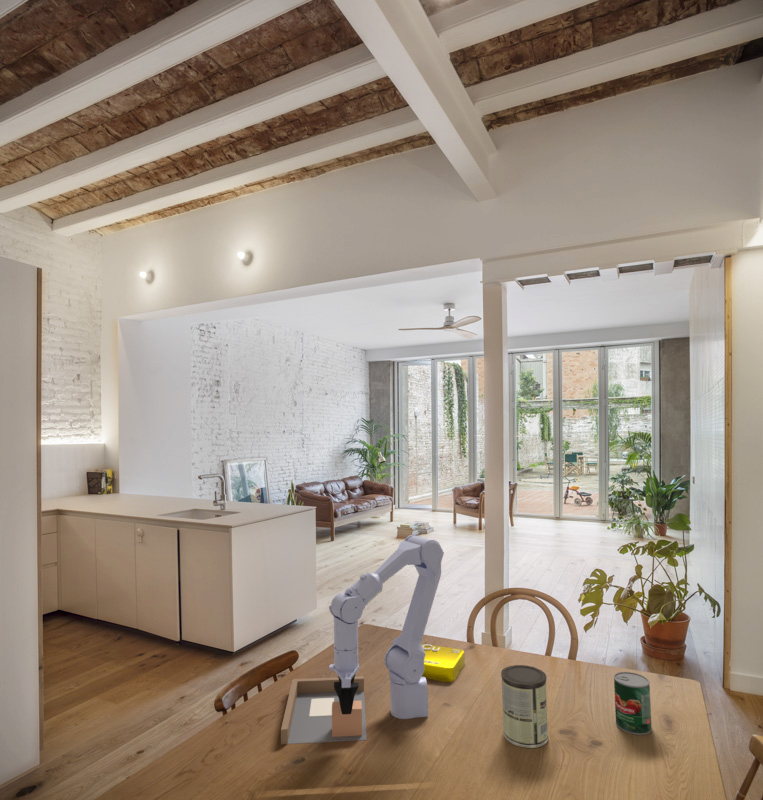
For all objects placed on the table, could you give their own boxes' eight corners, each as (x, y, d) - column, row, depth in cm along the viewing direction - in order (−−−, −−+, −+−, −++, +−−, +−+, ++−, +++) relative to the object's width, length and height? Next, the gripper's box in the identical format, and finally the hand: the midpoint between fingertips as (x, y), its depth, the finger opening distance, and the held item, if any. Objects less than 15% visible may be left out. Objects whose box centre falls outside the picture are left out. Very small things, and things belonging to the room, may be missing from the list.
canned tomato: (652, 722, 133) (650, 675, 134) (651, 738, 126) (649, 689, 127) (617, 714, 137) (615, 669, 138) (613, 730, 130) (612, 682, 131)
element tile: (403, 676, 161) (403, 659, 161) (420, 656, 175) (419, 641, 175) (453, 684, 155) (452, 667, 155) (466, 663, 169) (466, 647, 169)
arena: (363, 691, 151) (363, 676, 151) (366, 743, 126) (366, 725, 126) (292, 694, 150) (292, 679, 150) (280, 747, 125) (280, 729, 125)
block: (361, 726, 132) (361, 700, 132) (362, 735, 128) (361, 708, 128) (332, 727, 131) (332, 701, 132) (332, 736, 127) (331, 710, 128)
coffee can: (505, 721, 135) (503, 662, 135) (549, 728, 131) (547, 667, 132) (500, 744, 125) (498, 680, 126) (547, 752, 121) (545, 686, 122)
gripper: (330, 635, 138) (330, 691, 137) (328, 659, 123) (328, 722, 122) (358, 634, 138) (359, 690, 137) (359, 658, 124) (360, 720, 123)
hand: (346, 705), depth 130 cm, fingers open, 7 cm apart
